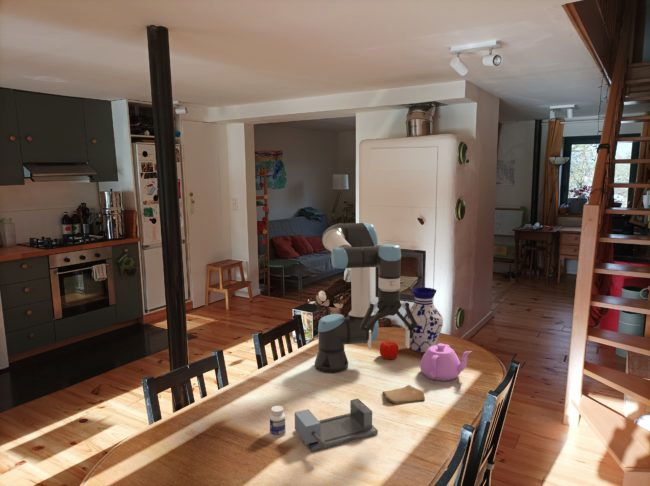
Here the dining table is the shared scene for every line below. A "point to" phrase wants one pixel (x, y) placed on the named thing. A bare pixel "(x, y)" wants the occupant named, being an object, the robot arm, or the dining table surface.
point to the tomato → (389, 350)
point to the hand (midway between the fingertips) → (388, 347)
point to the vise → (346, 427)
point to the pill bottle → (277, 422)
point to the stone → (404, 395)
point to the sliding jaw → (308, 427)
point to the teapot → (442, 362)
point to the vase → (424, 320)
